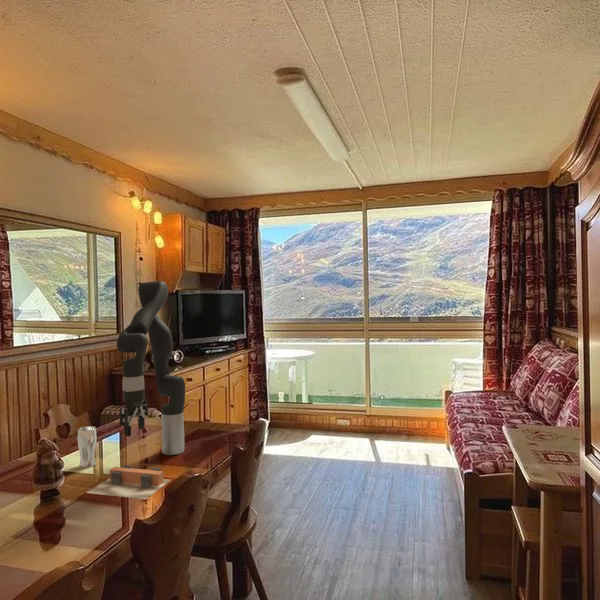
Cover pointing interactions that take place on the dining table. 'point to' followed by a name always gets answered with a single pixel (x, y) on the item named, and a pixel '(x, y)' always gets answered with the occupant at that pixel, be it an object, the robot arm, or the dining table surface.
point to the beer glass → (87, 446)
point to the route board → (128, 486)
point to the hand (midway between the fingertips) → (134, 432)
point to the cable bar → (138, 475)
